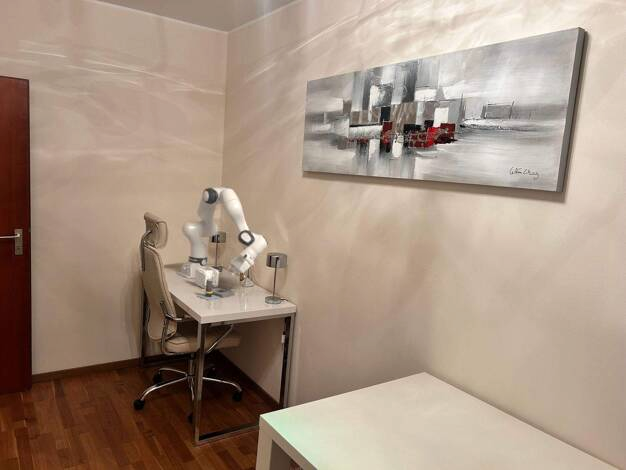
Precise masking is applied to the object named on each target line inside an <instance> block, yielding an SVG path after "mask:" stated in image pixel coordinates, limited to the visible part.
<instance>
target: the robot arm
mask: <svg viewBox="0 0 626 470" xmlns="http://www.w3.org/2000/svg"><path fill="white" fill-rule="evenodd" d="M217 205H222V208H223V209H224V211H225V213H226V215H227V216H228V218H229V219H230V220H231V221H232V222H233V223H234V224H235V226H236V228H237V229H238V232H239V234H238V235H237V239H238V242H239V243H240V245H241V246H242V248H243V250H242V251H241V252H240V253H239V254H237V255H236V256H235V257H233V258H232V259H231V260H230V265H229V267H228V268H227V270H226V271H227V272H228V273H230V272H231V273H230V275H231V276H232V277H235V275H238V274H239V273H240V274H244V273H245V272H246V271H248V270H249V268H250V267H251V266H254V265H255V260H256V259H257V257H258V256H259V255H261V254H262V253H263V252H264V251H265V250H266V249H267V247H268V245H269V243H268V241H267V239H266V238H265V236H264V235H262V234H257V233H254V232H252V231H250V228H249V226H248V224H247V222H246V217H245V214H244V213H245V212H244V210H243V206H242V203H241V200H240V199H239V196H238V195H237V194H236V192H235V190H234V189H233V188H231V187H224V186H223V187H221V186H220V187H208V188H207V187H206V188H205V189H204V190H203V192H202V196H201V198H200V201H199V204H198V208H197V211H196V213H197V216H198V218H200V219H201V220H200V221H199V220H197V221H194V220H192V221H191V220H190V221H186V222H184V223H183V225H182V226H181V227H182V228H181V230H182V231H181V233H182V234H183V235H184V237H186V238H187V239H188V241H189V244H190V256H188V261H187V262H185V263H184V264H182V266H181V268H180V269H181V270H180V271H178V272H177V275H180V276H182V277H183V278H187V279H195V269H196V268H200V269H203V270H207V267H208V264H207V263H208V246H207V244H206V243H205V242H203V241H202V238H209V237H211V238H212V237H214V236H216V235H217V234H218V231H219V227H218V224H217V223H216V222H215V219H214V217H215V216H214V215H215V211H216V209H217ZM233 269H235V270H234V271H232V270H233Z"/></svg>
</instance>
